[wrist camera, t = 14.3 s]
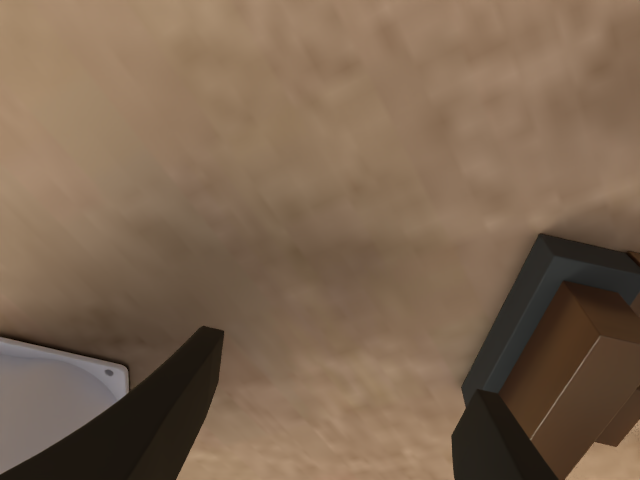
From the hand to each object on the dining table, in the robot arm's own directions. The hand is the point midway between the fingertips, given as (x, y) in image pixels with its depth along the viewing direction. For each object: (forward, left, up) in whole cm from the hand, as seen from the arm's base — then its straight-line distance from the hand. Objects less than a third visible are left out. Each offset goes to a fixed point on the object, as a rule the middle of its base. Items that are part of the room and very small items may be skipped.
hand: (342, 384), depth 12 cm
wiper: (+10, -3, -9) cm, 14 cm away
